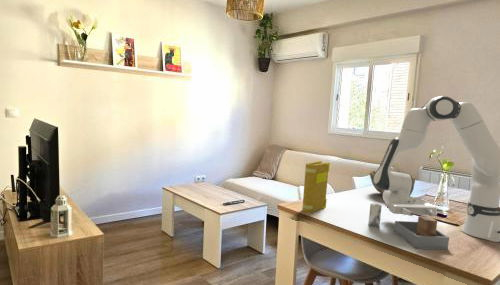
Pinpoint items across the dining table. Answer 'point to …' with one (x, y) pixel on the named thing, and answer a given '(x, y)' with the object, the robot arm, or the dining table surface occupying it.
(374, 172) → the bowl
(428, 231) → the walnut block
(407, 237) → the tote
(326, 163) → the book
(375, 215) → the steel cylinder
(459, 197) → the dining table surface
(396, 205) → the robot arm
